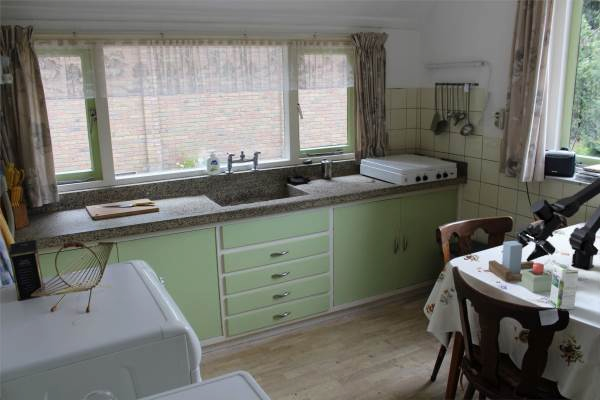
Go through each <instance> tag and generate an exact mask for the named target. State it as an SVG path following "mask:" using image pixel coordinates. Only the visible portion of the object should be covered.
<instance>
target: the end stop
mask: <svg viewBox="0 0 600 400" xmlns="http://www.w3.org/2000/svg"><path fill="white" fill-rule="evenodd" d="M501 264H502V263H499V262H498V261H497V260H488V271H489V272H490V273H492V274H493V275H495V276H496V277H498V278H500V279H501V280H502V281H503V282H505V283H506V282H507V283H508V282H512V281H511V277H512V271H511V270H509V269H507V268H506V267H504V266H503V265H501Z"/></svg>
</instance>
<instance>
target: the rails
mask: <svg viewBox="0 0 600 400" xmlns="http://www.w3.org/2000/svg"><path fill="white" fill-rule="evenodd" d="M534 263H535V262H534V260H532V261H529V262H528V261H527V260H526V261H521V269H527V268H528V269H529V268H533V264H534ZM500 264H501V265H502V263H500ZM546 271H547V272H549V273H551V274H552V271H550V270H548V269H547V270H546ZM514 281H515V282H516V281H522V272H521V273H520V274H512V277H511V281H510V282H514Z"/></svg>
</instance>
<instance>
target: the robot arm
mask: <svg viewBox="0 0 600 400" xmlns="http://www.w3.org/2000/svg"><path fill="white" fill-rule="evenodd" d="M599 194H600V177H598V178H596V179H595V181H593V182H591V183H590V184H588V185H587V186H586V187H584V188H582V189H581V190H579V191H578V192H576V193H575V194H574V193H573V194H572V195H570V196H566V197H563V198H561V199H558V200H556V201H555V202H554V203H549V201H548V200H547V199H545V198H541V199H540V200H537V201H534V202H533V203H532V204H531V205H530V207H529V210H530V211H531V213H532V214H534V216H535V217H537V219H539V221H541V222H540V223H539V222H538V223H534V224H531V223H529V222H527V221H523V222H522V225H521V227H518V228H517V229H516V230H515V236H516V238H517V239H516V241H517V242H518V243H520V244H522V245H523V246H522V250H523V249H524V248H525V247H527V246H528V245H529V243H531V242H532V243H533V244H534V243H535V246H534V249H533V251H531V253H530V254H529V255H528V256H527V258H526V262H527V261H528V262H529V261H534V260H536V259H539V258H541V257H545V256H550V255H551V256H553V254H554V253H555V252H556V247H555V246H554V245H553V244H552V243H551V242H550V241H549V240H548V239H549V238H550V237H551V238H553V237H554V236H555V235H554V234H553V233H554V232H555V231H556V230H558V228H559V226H563V227H566V226H567V222H566V221H567V220H566V219H565V218H567V219H570V218H571V217H573V216H575V215H576V213H577V212H579V210H580V208H581V207H582V206H583V205H584V204H586V203H587V202H588V201H590V200H591V199H592V200H593V198H595V197H596V196H598V195H599ZM599 230H600V204H599V205H598V206H597V208H596V209H595V210H594V212H593V213H592V215H591V216H590V217H589V219H588V220H587V222H586V223H585V224H584V226H582V227H580V228H579V227H578V226H577V227H575V228H574V229H573V232H571V233H570V234H569V238H568V242H569V245H570V246H571V250H574V252H573V253H572V257H571V265H570V266H572V267H574V268H576V269H581V270H585V271H589V270H591V269H592V268H594V267H595V265H594V264H593V263H594V256H596V255H598V253H599V249H598V248H597V247H596V246H595V245H594V244H595V243H596V236H597V233H598V231H599Z"/></svg>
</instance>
